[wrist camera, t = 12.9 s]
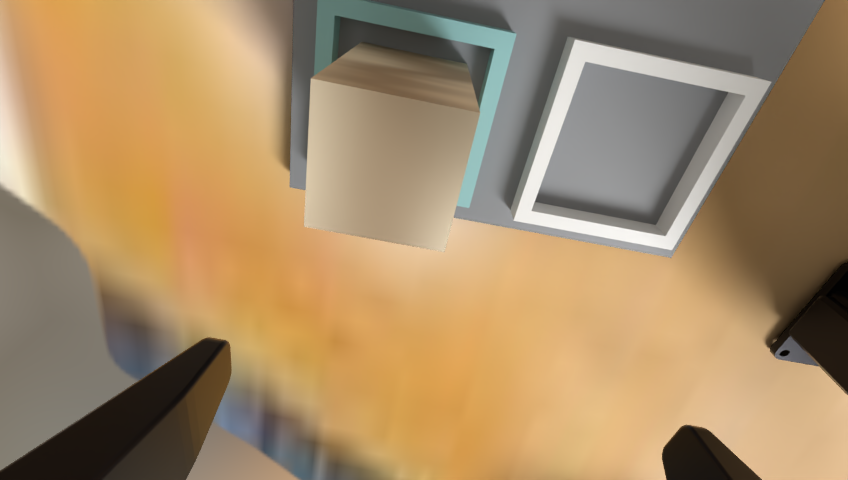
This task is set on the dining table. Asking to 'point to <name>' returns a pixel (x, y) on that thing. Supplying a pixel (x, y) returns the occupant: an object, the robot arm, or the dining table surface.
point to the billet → (389, 145)
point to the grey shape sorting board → (578, 100)
